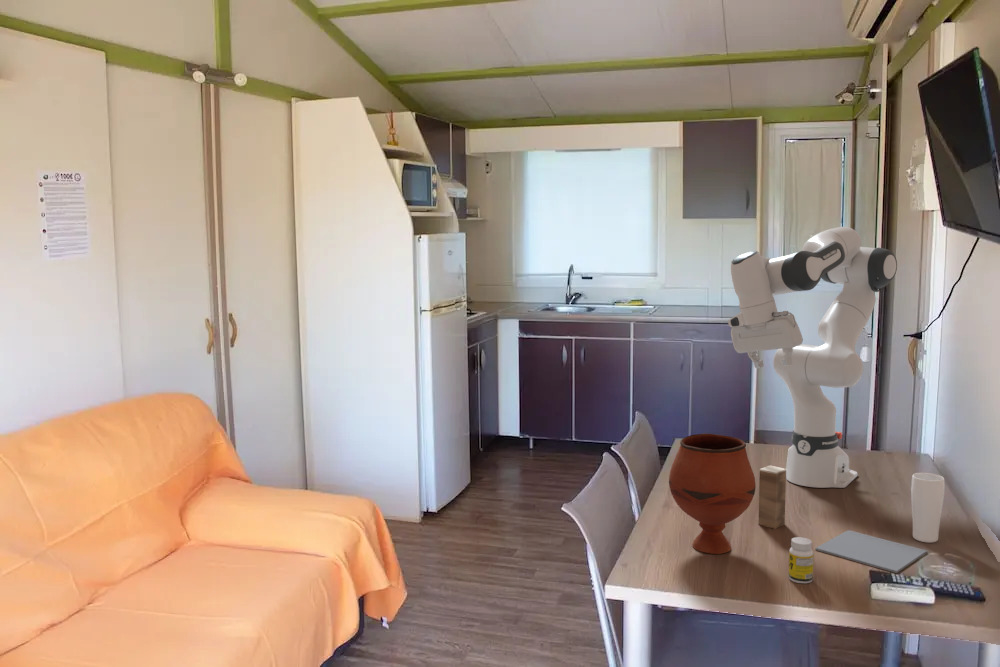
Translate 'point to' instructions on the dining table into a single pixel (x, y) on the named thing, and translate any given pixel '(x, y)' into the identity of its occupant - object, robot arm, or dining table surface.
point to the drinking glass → (926, 505)
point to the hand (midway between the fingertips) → (773, 366)
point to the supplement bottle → (801, 560)
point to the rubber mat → (872, 551)
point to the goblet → (712, 485)
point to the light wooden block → (772, 496)
